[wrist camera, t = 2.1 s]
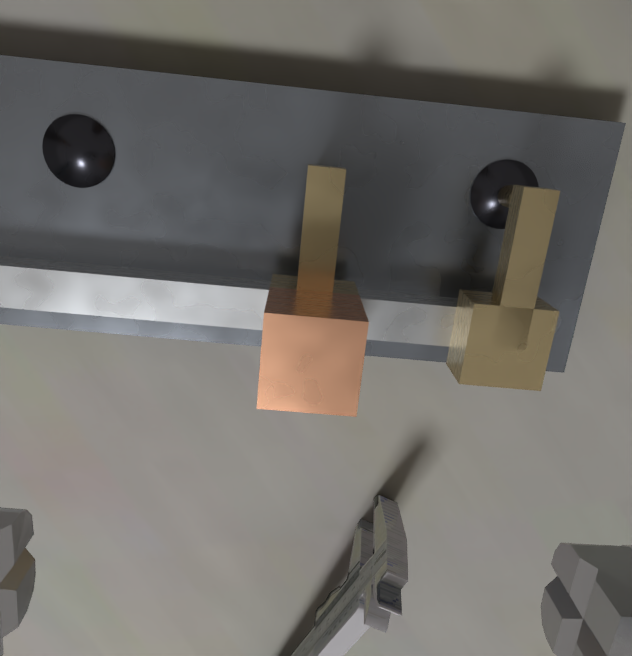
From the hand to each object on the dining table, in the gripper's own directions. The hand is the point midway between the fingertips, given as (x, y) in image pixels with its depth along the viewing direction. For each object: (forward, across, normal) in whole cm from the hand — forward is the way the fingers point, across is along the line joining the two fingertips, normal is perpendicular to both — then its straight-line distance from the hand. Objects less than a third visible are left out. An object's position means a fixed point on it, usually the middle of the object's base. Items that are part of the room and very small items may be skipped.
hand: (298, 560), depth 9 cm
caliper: (+17, -2, +19) cm, 26 cm away
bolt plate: (+17, +1, -3) cm, 17 cm away
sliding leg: (+15, -1, -2) cm, 15 cm away
